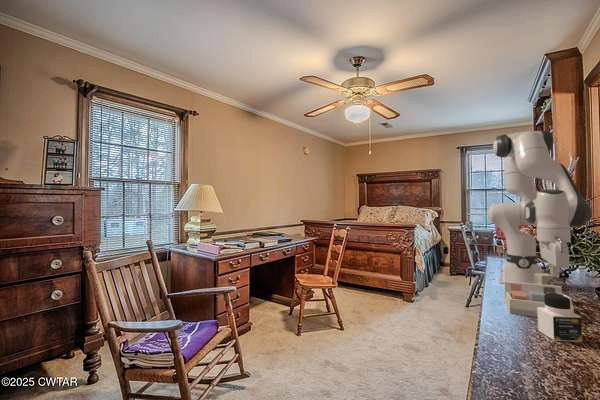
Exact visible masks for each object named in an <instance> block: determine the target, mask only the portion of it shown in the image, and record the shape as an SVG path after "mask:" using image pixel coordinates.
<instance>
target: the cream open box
mask: <svg viewBox="0 0 600 400" xmlns="http://www.w3.org/2000/svg"><path fill="white" fill-rule="evenodd" d="M504 283H505V284H504ZM504 283H503V284H504V303H505V305H506V307H507V310H508V312H509V314H510V315H511V314H512V315H518V316H525V317H526V316H527V317H534V318H538V313H537V308H538V307H545V302H536V301H531V299H530V298H529V290H530V291H540V292H543V293H544V294H547V292H551V293H561V294H563V292H562V286H561V285H555V284H554V285H542V284H531V283H520V282H508V281H504ZM512 292H521V293H525V294H526V295H527V299H528V301H527V300H518V299H513V298H512ZM574 309H575V308H574V305H573V304H572V311H571V312H572V313H575V311H574Z"/></svg>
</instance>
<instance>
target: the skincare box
mask: <svg viewBox="0 0 600 400" xmlns="http://www.w3.org/2000/svg"><path fill="white" fill-rule="evenodd" d="M534 274H535V284H542V285H554V286H555V281H554V278H555V277H553V276H551V274H549V273H543V272H542V273H534Z"/></svg>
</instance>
